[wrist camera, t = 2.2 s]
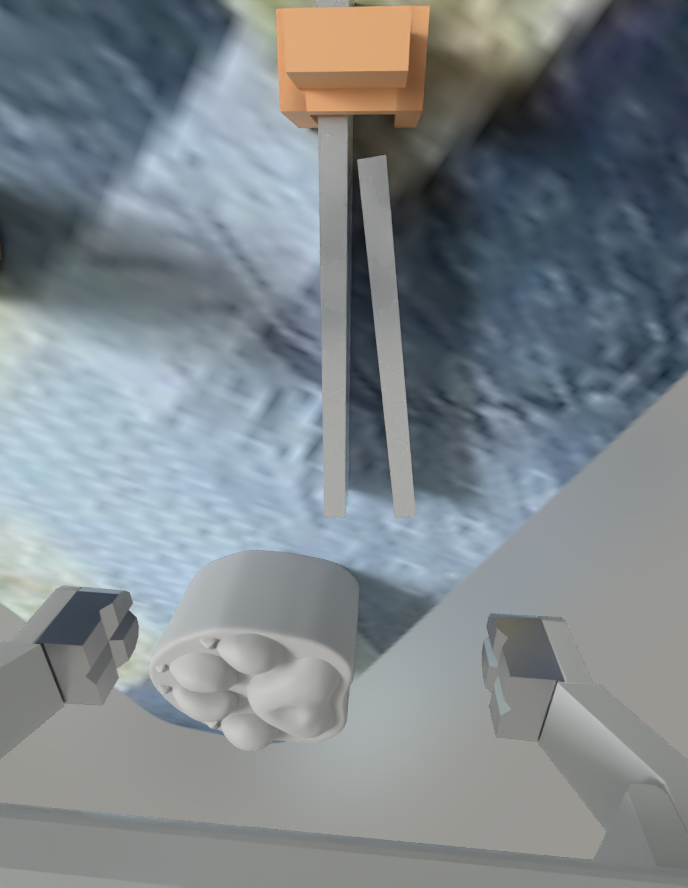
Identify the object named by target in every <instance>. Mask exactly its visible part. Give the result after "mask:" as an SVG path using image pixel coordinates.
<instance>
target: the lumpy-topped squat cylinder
mask: <svg viewBox="0 0 688 888" xmlns="http://www.w3.org/2000/svg"><path fill="white" fill-rule="evenodd" d="M359 591H360V589H359V584H358V582H357V580H356V578H355V577H354V576H353V575H352V574H351V573H350V572H349V571H348V570H347V569H345V568H344V567H342V566H340V565H338V564H336V563H333V562H331V561H328V560H324V559H319V558H314V557H309V556H304V555H299V554H293V553H286V552H277V551H264V550H248V551H242V552H238V553H235V554H231V555H228V556H225V557H223V558H220V559H217V560H215V561H213V562H211V563H209V564H207V565H206V566H205V567H203V568H202V569H201V570H200V571H199V572H198V573H197V574H196V575H195V576H194V577H193V579H192V580H191V582H190V584H189V586H188V588H187V590H186V592H185V594H184V596H183V598H182V600H181V602H180V603H179V605H178V607H177V609H176V611H175V613H174V615H173V617H172V619H171V621H170V623H169V625H168V627H167V629H166V631H165V633H164V635H163V637H162V639H161V641H160V643H159V645H158V647H157V649H156V651H155V653H154V655H153V657H152V659H151V662H150V665H149V673H150V677H151V680H152V682H153V684H154V685H155V687H156V688H157V690H158V691H159V692H160V693H161V694H162V695H163V696H164V697H165V698H166V699H167V700H168V701H169V702H170V703H171V704H172V705H173V706H175V707H176V708H177V709H179V710H180V711H182V712H183V713H185V714H187V715H188V716H189V717H191V718H193V719H195V720H197V721H200V722H202V723H204V724H207V725H208V726H209V727H210V728H212V729H218V730H221V731H223V733H224V735H225V736H226V738H227V739H228V740H229V741H230V742H231V743H232V744H233V745H234V746H236V747H237V748H239V749H242V750H246V751H255V750H260V749H263V748H265V747H267V746H268V745H269V744H270V743H271V742H272V741H273V740H283V741H292V742H319V741H323V740H326V739H328V738H331V737H333V736H335V735H337V734H338V733H339V732H341V731H342V729H343V728H344V726H345V724H346V721H347V712H348V699H349V688H350V685H351V683H352V680H353V677H354V665H355V655H356V638H357V621H358V606H359Z"/></svg>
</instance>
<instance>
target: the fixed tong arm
mask: <svg viewBox="0 0 688 888" xmlns="http://www.w3.org/2000/svg"><path fill="white" fill-rule="evenodd" d="M322 7H355V1H354V0H316V8H322ZM318 155H319V216H320V277H321V338H322V400H323V461H324V517H340V518H345V513H346V505H347V497H348V489H349V444H350V358H351V272H352V186H353V115H318Z"/></svg>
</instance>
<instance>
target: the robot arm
mask: <svg viewBox="0 0 688 888" xmlns="http://www.w3.org/2000/svg"><path fill="white" fill-rule="evenodd" d="M132 604H133V602H132V599H131V596H130V592H127V591H123V590H112V589H101V588H90V587H74V586H61V587H59V588H57V589H56V590H55V591H54V592H53V593H52V594H51V595H50V597H49V598H48V599H47V600H46V601H45V602H44V603H43V605H42V606H41V607H40V608H39V609H38V610H37V611H36V613H35V614H34V615H33V616H32V617H31V618H30V619H29V621H28V622H27V623H26V624H25V625H24V626H23V628H22V629H21V630H20V631H19V632H18V633H17V634H16V635H15V637H14V638H13V639H12V640H11V641H10V642H2V643H0V759H1V758H2V757H3V756H4V755H6V754H7V753H8V752H9V751H10V750H12V749H13V748H14V747H15V746H17V745H18V744H19V743H20V742H21V741H23V740H24V739H25V738H26V737H27V736H29V735H30V734H31V733H32V732H34V731H35V730H36V729H37V728H38V727H40V726H41V725H42V724H43V723H44V722H45V721H46V720H48V719H49V718H50V717H52V716H53V715H54V714H55V713H56V712H57V711H59V710H60V709H61V708H62V707H64V704H65V703H66V704H85V705H103V704H104V702H105V701H106V699H107V697H108V695H109V693H110V692H111V690H112V689H113V687H114V685H115V683H116V682H117V680H118V678H119V677H118V672H117V668H118V667H120V666H121V665H123V664H124V663H125V662H127V661H128V660H129V659H130V657H131V655H132V653H133V651H134V649H135V646H136V643H137V639H138V627H139V626H138V621H137V617H135V616H134V615H133V614H132V613H131V612H130V611H129V608H130V607H131V605H132ZM487 630H488V634H489V637H488V638H487V639H485V640H484V643H483V649H482V670H483V678H484V683H485V687H486V688H487V689H488V690H489V691H490V692H491V693H492V695H491V700H490V705H489V707H490V712H491V717H492V721H493V726H494V730H495V735H496V737H499V738H508V739H517V740H526V741H536V742H539V745H540V747H541V748H542V749H543V751H544V752H545V753H546V754H547V756H548V757H549V758H550V760H551V761H552V762H553V763H554V765H555V766H556V767H557V769H558V770H559V771H560V773H561V774H562V775H563V776H564V778H565V779H566V780H567V781H568V783H569V784H570V785H571V787H572V788H573V789H574V790H575V792H576V793H577V794H578V796H579V797H580V798H581V799H582V801H583V802H584V803H585V805H586V806H587V807H588V809H589V810H590V811H591V812H592V814H593V815H594V816H595V818H597V820H598V821H599V823H600V824H601V825H602V827H603V828H604V829H605V830H606V834H605V836H604V838H603V840H602V843H601V845H600V847H599V849H598V851H597V853H596V855H595V857H594V859H593V860H590V859H579V858H569V857H559V856H548V855H537V854H527V853H517V852H507V851H496V850H486V849H475V848H465V847H454V846H444V845H434V844H423V843H413V842H403V841H392V840H382V839H372V838H361V837H352V836H341V835H330V834H321V833H310V832H299V831H289V830H278V829H269V828H258V827H247V826H237V825H227V824H216V823H206V822H194V821H185V820H174V819H164V818H153V817H143V816H132V815H122V814H112V813H102V812H91V811H81V810H69V809H59V808H50V807H38V806H28V805H18V804H8V803H0V888H688V759H687V758H686V757H684V756H683V755H682V754H681V753H680V752H679V751H677V750H676V749H675V748H674V747H673V746H672V745H670V744H669V743H668V742H667V741H666V740H665V739H664V738H662V737H661V736H660V735H659V734H658V733H657V732H655V731H654V730H653V729H652V728H651V727H650V726H648V725H647V724H646V723H645V722H644V721H643V720H642V719H640V718H639V717H638V716H637V715H636V714H635V713H633V712H632V711H631V710H630V709H629V708H628V707H626V706H625V705H624V704H623V703H622V702H621V701H619V700H618V699H617V698H616V697H615V696H614V695H613V694H611V693H610V692H609V691H608V690H607V689H605V688H604V687H603V686H602V685H597V684H593V681H592V679H591V677H590V675H589V672H588V670H587V668H586V665H585V663H584V661H583V659H582V657H581V654H580V652H579V650H578V648H577V645H576V644H575V641H574V639H573V637H572V634H571V632H570V630H569V627H568V625H567V623H566V621H565V620H564V619H563V618H562V617H548V616H537V617H536V616H528V615H511V614H490V616H489V617H488V622H487Z"/></svg>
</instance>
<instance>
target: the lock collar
mask: <svg viewBox="0 0 688 888" xmlns="http://www.w3.org/2000/svg"><path fill="white" fill-rule="evenodd" d="M429 12H430V6H367V7H322V8H283V9H276V26H277V48H278V70H279V92H280V112H282V113H283V114H284V115H285V116H286V117H287V118H288V119H289V120H291V121H292V122H293V123H294V124H295V125H296V126H297V127H298V128H318V115H361V114H395V120H394V128H402V127H417V124H418V122H419V119H420V117H421V114H422V112H423V102H424V87H425V72H426V57H427V42H428V27H429Z"/></svg>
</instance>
